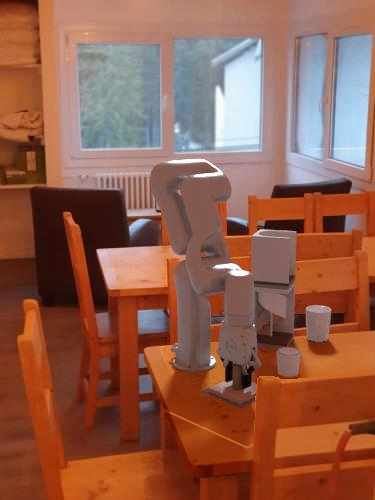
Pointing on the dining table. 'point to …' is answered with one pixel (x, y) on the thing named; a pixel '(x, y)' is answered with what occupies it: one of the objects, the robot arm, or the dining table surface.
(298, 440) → the dining table surface
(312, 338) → the white cup
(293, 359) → the shot glass
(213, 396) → the mat
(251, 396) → the lid
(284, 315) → the white coffee machine
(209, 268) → the robot arm
